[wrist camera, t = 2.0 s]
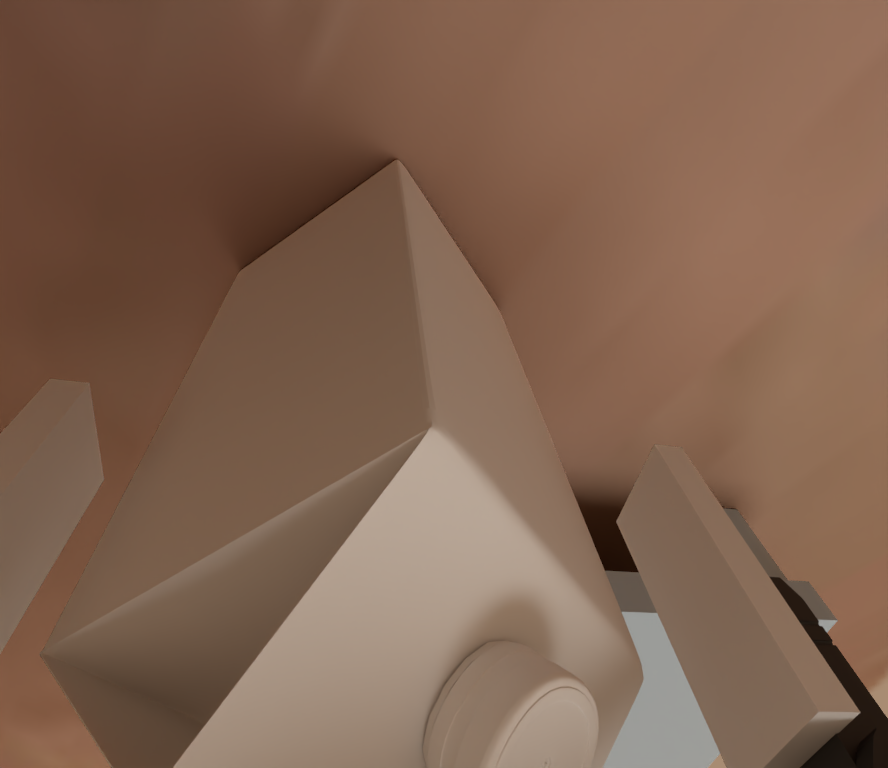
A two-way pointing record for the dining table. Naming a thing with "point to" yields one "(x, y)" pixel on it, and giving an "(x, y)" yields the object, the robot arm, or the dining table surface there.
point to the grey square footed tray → (676, 676)
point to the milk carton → (350, 533)
